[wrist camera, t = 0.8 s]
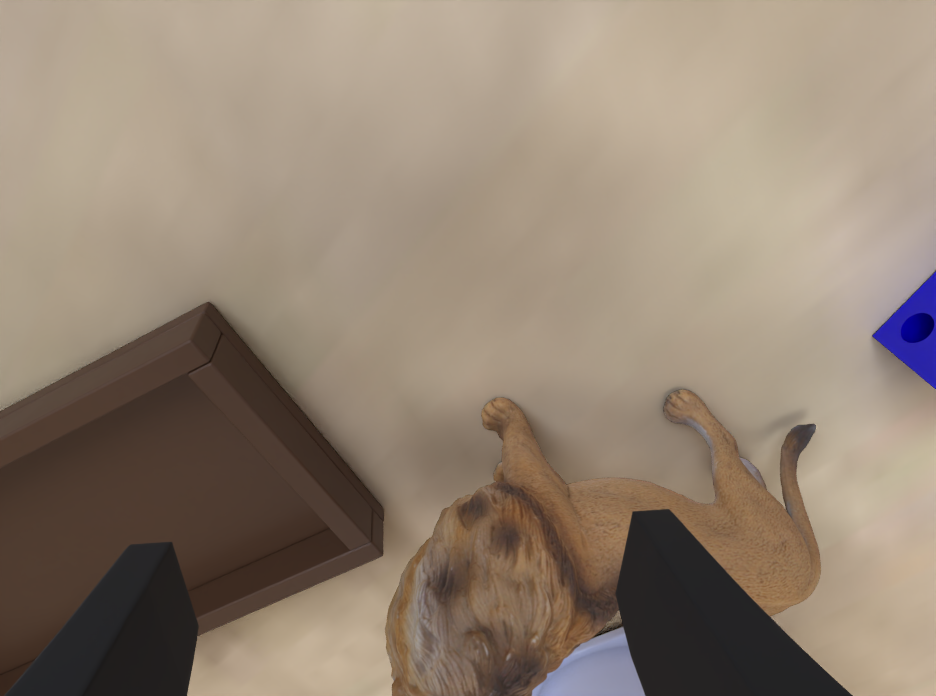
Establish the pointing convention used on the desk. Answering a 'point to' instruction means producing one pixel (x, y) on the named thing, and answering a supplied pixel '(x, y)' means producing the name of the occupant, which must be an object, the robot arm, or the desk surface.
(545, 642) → the lion figurine
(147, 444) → the brown rectangular tray
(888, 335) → the cable holder
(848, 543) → the desk surface
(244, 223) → the desk surface
